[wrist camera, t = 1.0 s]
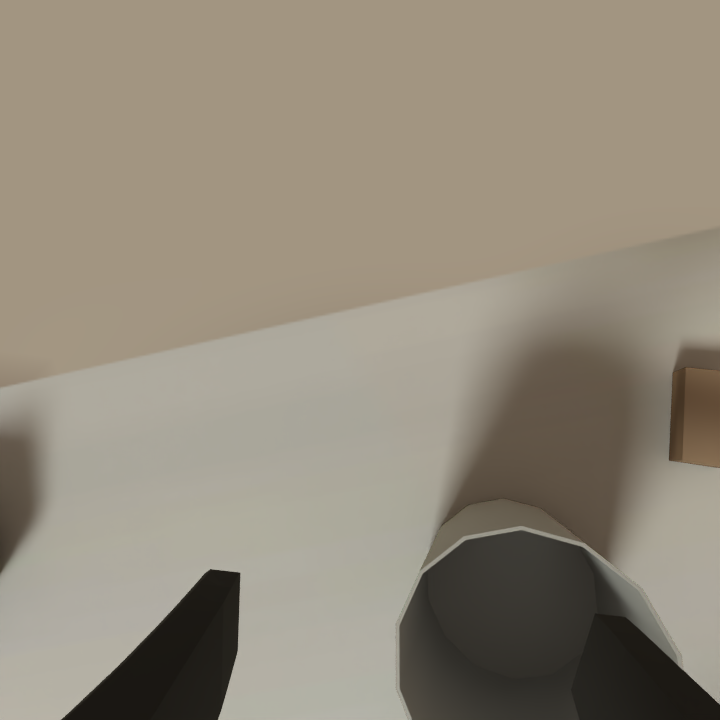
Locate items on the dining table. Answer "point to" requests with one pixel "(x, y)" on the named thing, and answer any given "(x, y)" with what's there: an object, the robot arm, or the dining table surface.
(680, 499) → the dining table surface
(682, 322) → the dining table surface
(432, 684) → the grey cylinder
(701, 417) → the pair of brown blocks
